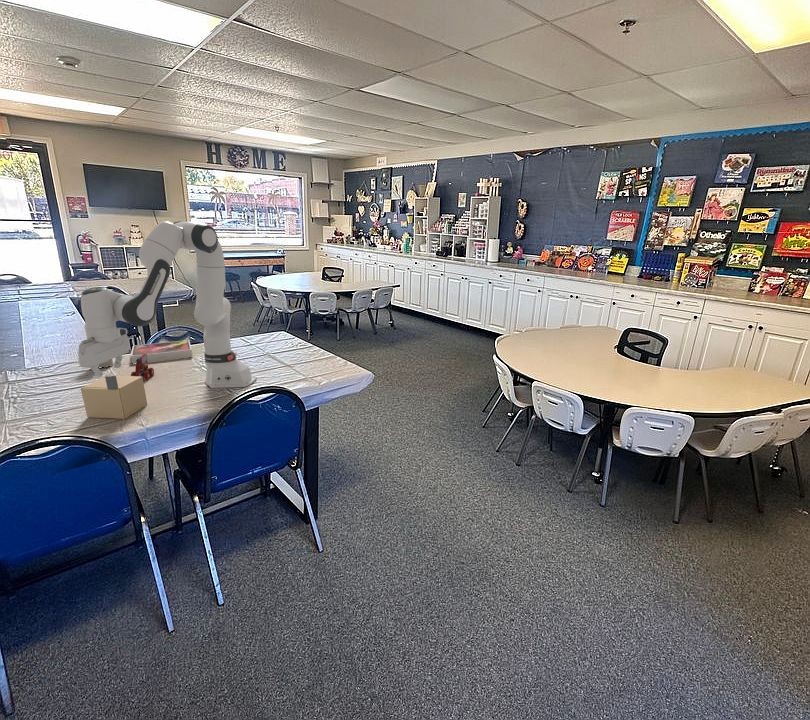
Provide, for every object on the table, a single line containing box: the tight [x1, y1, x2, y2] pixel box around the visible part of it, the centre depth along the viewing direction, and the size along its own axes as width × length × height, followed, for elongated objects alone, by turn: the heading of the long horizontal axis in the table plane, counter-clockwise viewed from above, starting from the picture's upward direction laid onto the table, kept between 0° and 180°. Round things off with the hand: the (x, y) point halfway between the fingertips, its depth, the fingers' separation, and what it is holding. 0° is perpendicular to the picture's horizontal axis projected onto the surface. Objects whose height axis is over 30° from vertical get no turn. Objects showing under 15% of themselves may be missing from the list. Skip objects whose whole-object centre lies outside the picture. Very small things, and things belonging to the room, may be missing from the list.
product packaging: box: [130, 339, 193, 364], centre depth 232 cm, size 22×28×5 cm
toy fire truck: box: [130, 354, 155, 381], centre depth 198 cm, size 7×12×10 cm, turn 11°
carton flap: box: [80, 375, 125, 420], centre depth 155 cm, size 14×1×17 cm, turn 87°
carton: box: [82, 374, 148, 419], centre depth 163 cm, size 14×13×12 cm
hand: (108, 371), depth 152 cm, fingers open, 8 cm apart
